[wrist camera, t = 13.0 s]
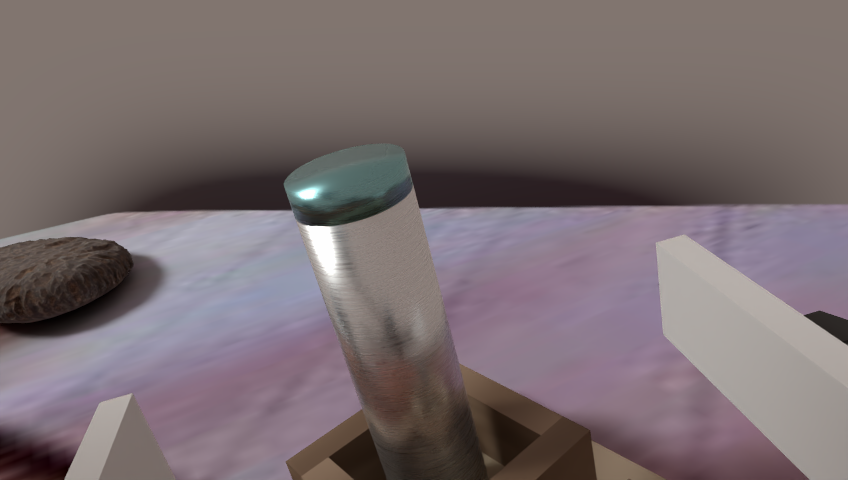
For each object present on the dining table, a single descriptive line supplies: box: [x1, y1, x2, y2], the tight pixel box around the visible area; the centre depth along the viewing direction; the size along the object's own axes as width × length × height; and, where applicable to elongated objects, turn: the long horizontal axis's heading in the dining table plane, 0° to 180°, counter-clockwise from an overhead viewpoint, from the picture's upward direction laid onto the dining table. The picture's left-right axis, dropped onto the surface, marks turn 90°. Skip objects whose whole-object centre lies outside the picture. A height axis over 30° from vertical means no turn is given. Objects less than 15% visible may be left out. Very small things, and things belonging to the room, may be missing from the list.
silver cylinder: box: [284, 144, 489, 480], centre depth 22 cm, size 4×4×14 cm
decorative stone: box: [0, 237, 133, 323], centre depth 58 cm, size 20×14×5 cm
